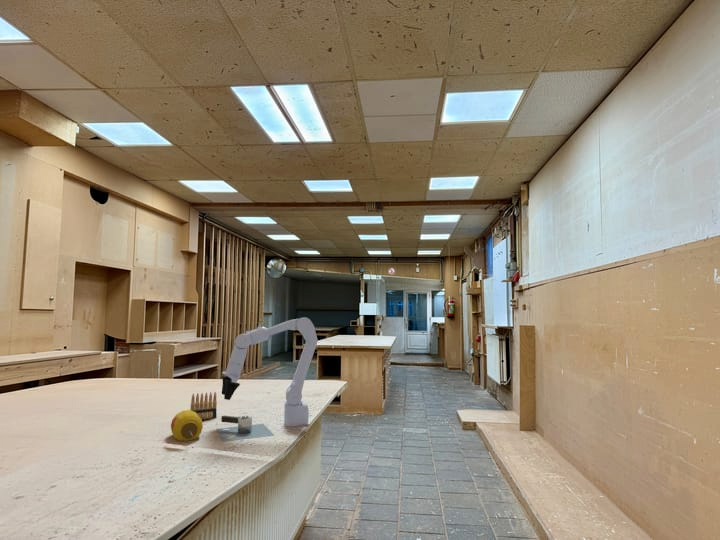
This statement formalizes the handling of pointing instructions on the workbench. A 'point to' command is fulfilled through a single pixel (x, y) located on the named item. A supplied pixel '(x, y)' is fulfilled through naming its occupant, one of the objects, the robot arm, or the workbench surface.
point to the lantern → (186, 425)
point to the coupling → (239, 422)
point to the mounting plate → (233, 433)
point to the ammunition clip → (207, 409)
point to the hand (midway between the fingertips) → (225, 396)
